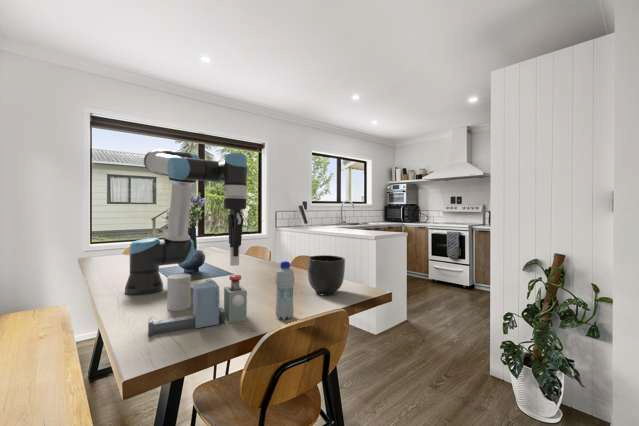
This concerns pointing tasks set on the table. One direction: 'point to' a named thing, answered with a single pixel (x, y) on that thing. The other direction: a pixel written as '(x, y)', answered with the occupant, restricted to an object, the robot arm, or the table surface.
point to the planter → (326, 273)
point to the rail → (176, 323)
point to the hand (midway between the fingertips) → (234, 265)
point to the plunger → (235, 282)
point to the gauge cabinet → (235, 304)
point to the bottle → (284, 291)
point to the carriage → (206, 304)
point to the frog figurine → (208, 281)
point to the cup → (178, 292)
